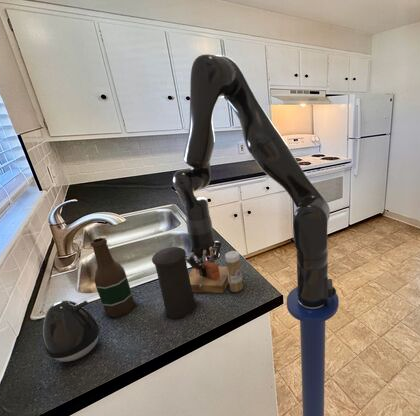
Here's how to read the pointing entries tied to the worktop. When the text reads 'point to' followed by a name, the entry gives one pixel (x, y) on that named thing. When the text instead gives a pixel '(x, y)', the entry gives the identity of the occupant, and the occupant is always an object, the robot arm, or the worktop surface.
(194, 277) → the holder base
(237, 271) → the sprinkles bottle
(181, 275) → the container
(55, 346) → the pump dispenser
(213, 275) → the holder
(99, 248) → the beer bottle
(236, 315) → the worktop surface
